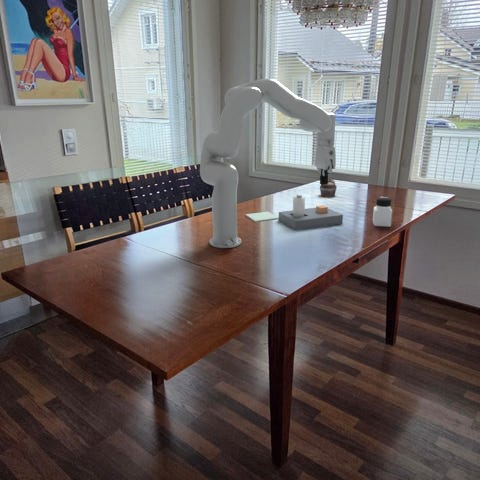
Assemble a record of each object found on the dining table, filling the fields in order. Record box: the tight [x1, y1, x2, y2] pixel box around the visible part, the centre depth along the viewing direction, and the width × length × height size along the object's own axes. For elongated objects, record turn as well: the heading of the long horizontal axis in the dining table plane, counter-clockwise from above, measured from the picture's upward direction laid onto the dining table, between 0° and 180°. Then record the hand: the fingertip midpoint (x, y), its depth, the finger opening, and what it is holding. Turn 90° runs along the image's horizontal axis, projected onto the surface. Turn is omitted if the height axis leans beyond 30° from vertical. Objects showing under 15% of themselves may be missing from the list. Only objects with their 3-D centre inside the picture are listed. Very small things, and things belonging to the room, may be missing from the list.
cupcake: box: [319, 177, 337, 198], centre depth 234 cm, size 10×10×10 cm
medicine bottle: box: [372, 196, 394, 228], centre depth 179 cm, size 7×7×12 cm
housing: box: [278, 207, 344, 231], centre depth 186 cm, size 16×24×4 cm, turn 111°
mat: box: [245, 211, 279, 223], centre depth 195 cm, size 12×12×1 cm
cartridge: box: [292, 194, 306, 218], centre depth 183 cm, size 5×5×13 cm
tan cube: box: [315, 204, 329, 214], centre depth 187 cm, size 4×4×4 cm
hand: (323, 184), depth 183 cm, fingers closed
